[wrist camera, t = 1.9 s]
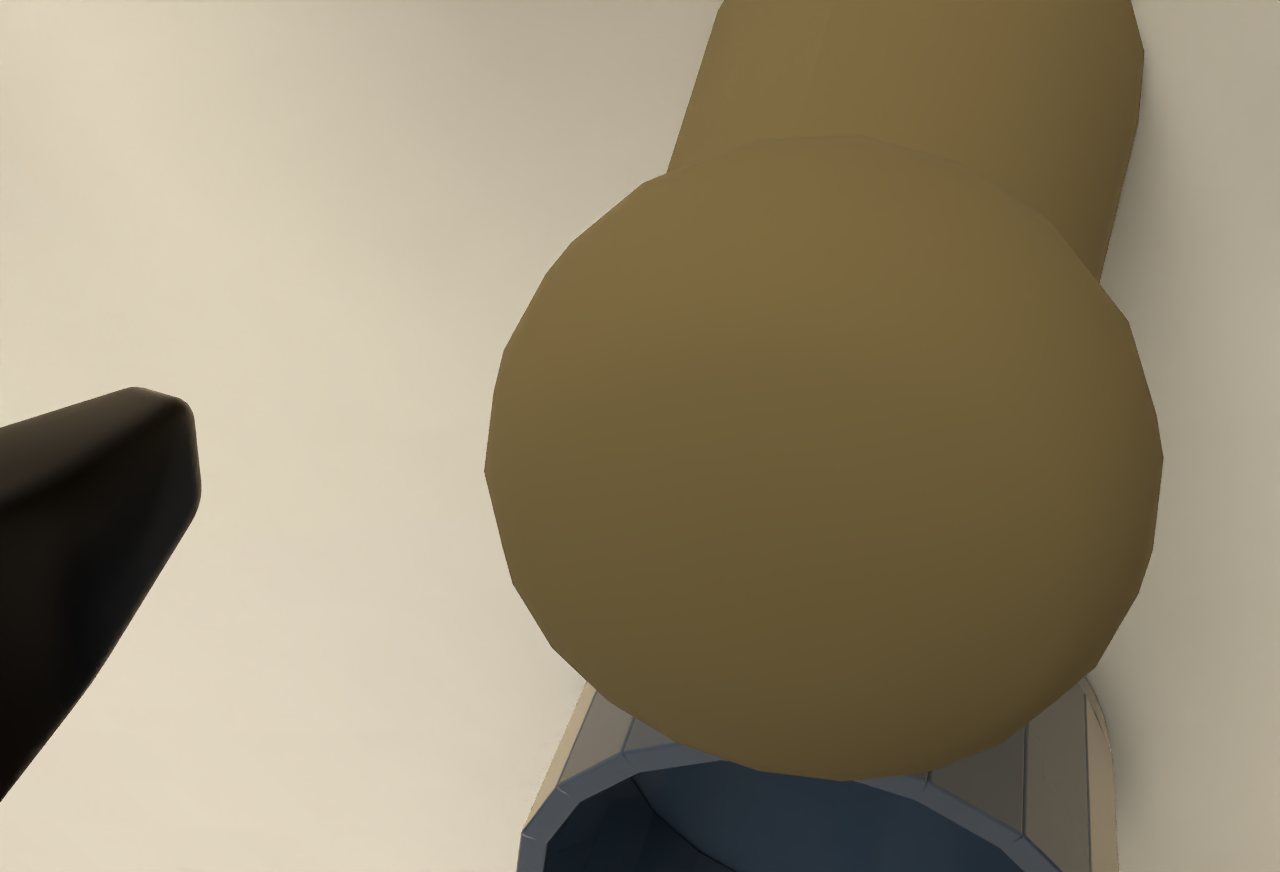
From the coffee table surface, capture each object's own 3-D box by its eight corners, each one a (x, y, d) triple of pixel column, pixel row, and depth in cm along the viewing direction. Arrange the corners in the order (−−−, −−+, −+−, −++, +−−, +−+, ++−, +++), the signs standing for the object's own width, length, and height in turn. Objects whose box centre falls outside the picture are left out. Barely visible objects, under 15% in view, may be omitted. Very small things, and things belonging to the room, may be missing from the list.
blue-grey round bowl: (1199, 633, 21) (1234, 877, 17) (1012, 955, 27) (1005, 1191, 23) (632, 473, 22) (541, 662, 18) (576, 813, 28) (498, 1011, 24)
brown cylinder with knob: (1086, 317, 18) (1121, 977, 9) (695, 261, 19) (405, 797, 11) (1201, -119, 15) (1424, 279, 6) (716, -152, 16) (310, 138, 7)
